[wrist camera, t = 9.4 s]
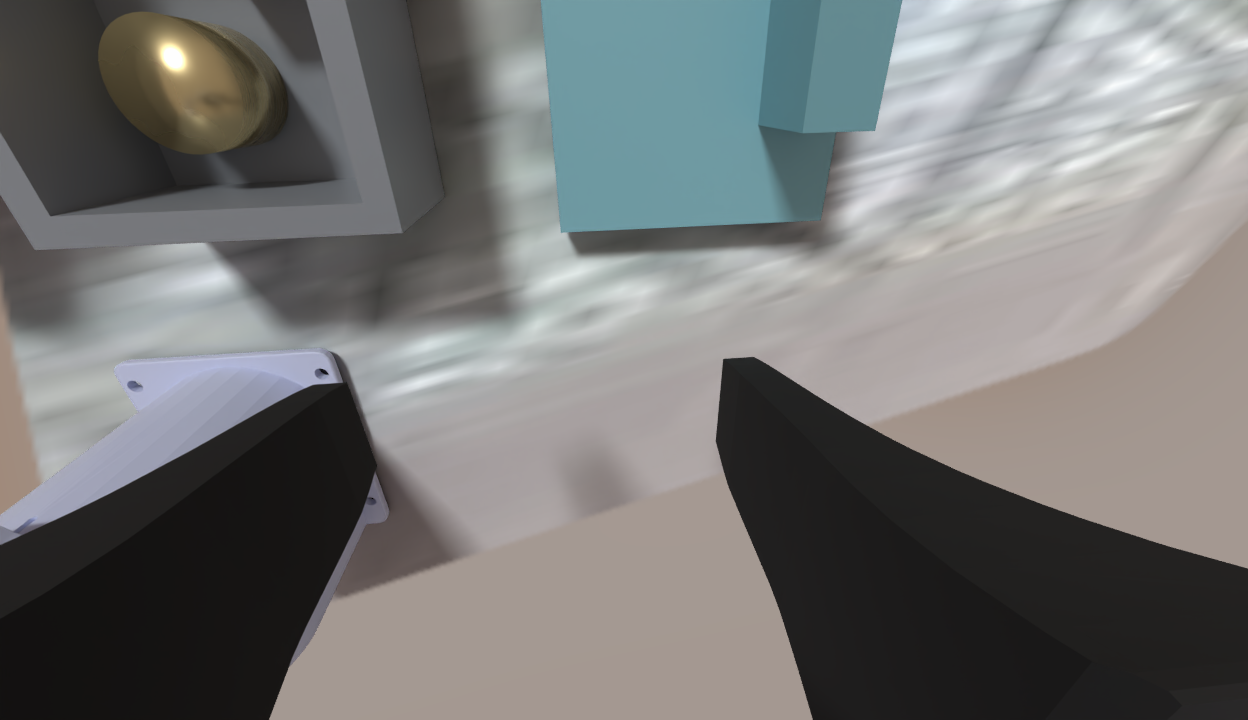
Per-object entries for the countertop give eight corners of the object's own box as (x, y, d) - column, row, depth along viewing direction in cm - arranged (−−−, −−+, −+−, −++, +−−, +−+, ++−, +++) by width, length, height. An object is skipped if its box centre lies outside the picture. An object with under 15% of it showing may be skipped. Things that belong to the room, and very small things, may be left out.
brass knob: (303, 144, 15) (262, 152, 13) (197, 147, 15) (138, 156, 13) (265, 22, 14) (211, 10, 12) (146, 24, 14) (70, 12, 12)
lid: (802, 210, 19) (872, 247, 15) (561, 221, 18) (558, 263, 14) (867, -210, 13) (1012, -358, 9) (524, -216, 13) (499, -381, 8)
